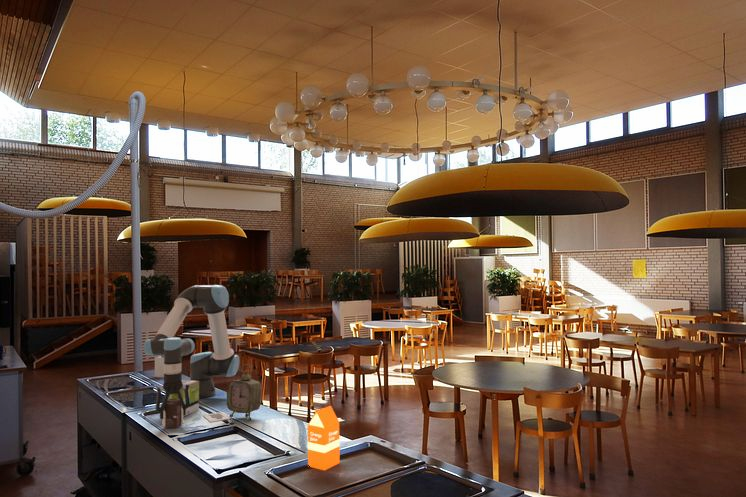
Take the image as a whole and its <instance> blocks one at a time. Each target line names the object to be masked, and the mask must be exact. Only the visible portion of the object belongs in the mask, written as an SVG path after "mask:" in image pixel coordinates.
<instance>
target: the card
mask: <svg viewBox="0 0 746 497" xmlns="http://www.w3.org/2000/svg"><path fill="white" fill-rule="evenodd" d="M202 417H203V418H205V419H206V420H207V421H208V422H209V423H215V422H221V421H228V420H232V419H231V417H230V415H228V413H226V412H224V411H220V412H214V413H208V414H203V415H202ZM227 419H228V420H227Z"/></svg>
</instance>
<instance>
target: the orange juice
mask: <svg viewBox="0 0 746 497" xmlns="http://www.w3.org/2000/svg"><path fill="white" fill-rule="evenodd" d="M340 439H341V438H340V420H339V419H338V416H337V415H336V413H335V411H334V408H333V407H332V405H328V406H326V407H324V408H323V407H322V408H320V409H318V410H315V412H314V414H313V416H312V418H311V419H310V420H309V423H308V424H307V466H308V465H309V466H310V467H309V466H308V467H309V468H314V469H318V470H321V471H326V470H328V469H331V468H332V467H334V466H337V465H338V464H340V463H341V462H340V456H341V455H340V453H341V451H340V449H341V448H340V446H341V445H340V442H341V441H340Z"/></svg>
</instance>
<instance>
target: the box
mask: <svg viewBox="0 0 746 497" xmlns="http://www.w3.org/2000/svg"><path fill="white" fill-rule="evenodd" d="M164 411H165V427H164V428H167V429H169V428H171V429H177V428H180V427H181V426H182V424H181V401H180V399H168V400H167V403H166V406H165V408H164Z"/></svg>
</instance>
